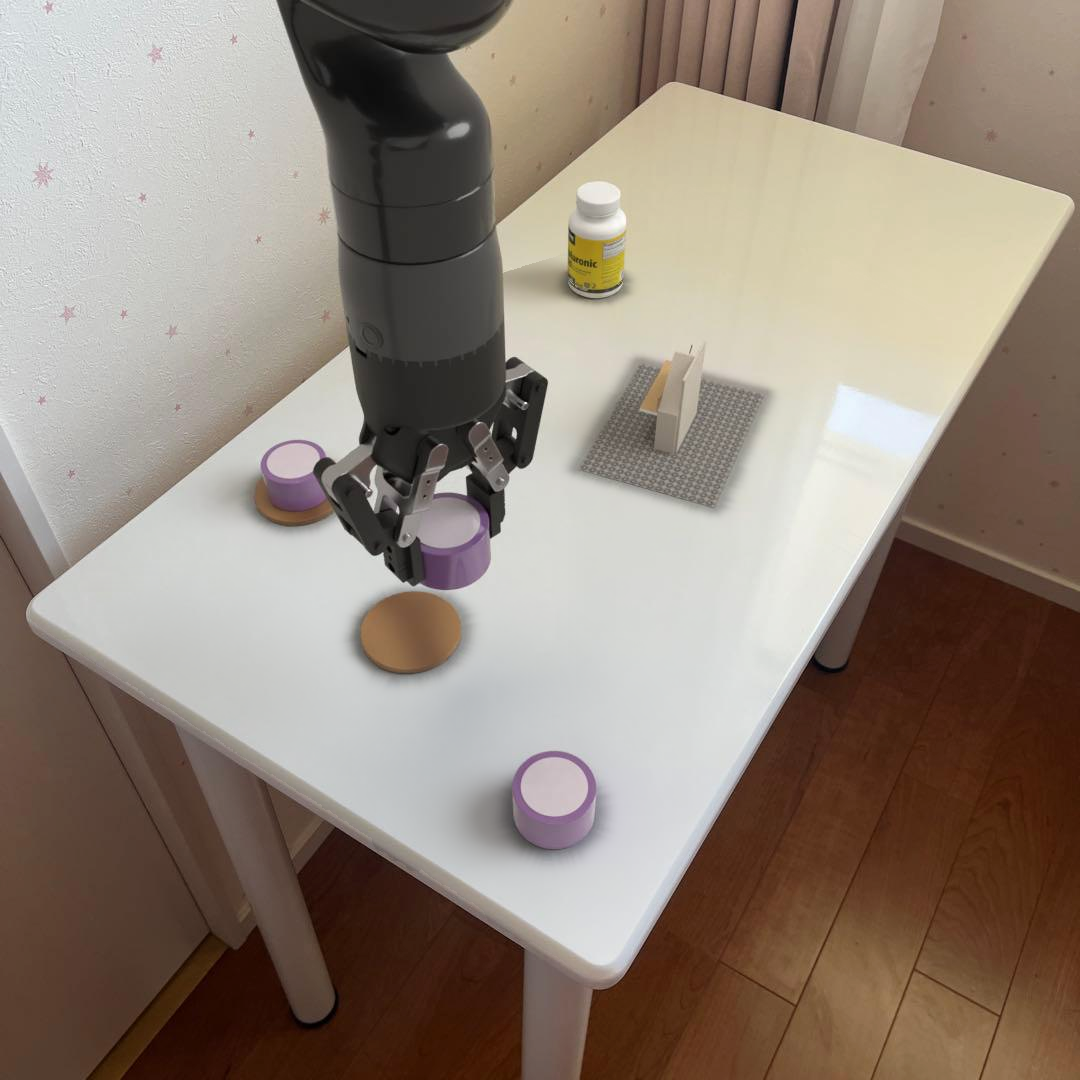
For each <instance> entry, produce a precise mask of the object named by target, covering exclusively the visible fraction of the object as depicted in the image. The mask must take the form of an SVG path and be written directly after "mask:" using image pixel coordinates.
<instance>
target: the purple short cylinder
mask: <svg viewBox="0 0 1080 1080" xmlns="http://www.w3.org/2000/svg"><path fill="white" fill-rule="evenodd" d="M325 457H327V454H326V452H325V450H324V449H323V448H322V447H321V446H320V445H319V444H317V443H315V442H313V441H310V440H308V439H307V440H306V439H289V440H285V441H282V442H279V443H277V444H275V445H273V446H271V448H269V449H268V450H267V451H266V452H265V453H264V454H263V456H262V458H261V460H260V465H259V466H260V471H261V476H262V477H263V480H264V484H265V488H266V492H267V496H268V498H269V500H270V502H271V503H272V504H273V505H275V506H276V507H278V508H280V509H282V510H286V511H304V510H308V509H311V508H313V507H316V506H317V505H319V504H321V503H322V502H323V501H324V500H325V499H326V498H327V497H326V495H325V494H324V492H323V490H322V488H321V487H320V485H319V483H318V481H317V479H316V478H315V476H314V474H313V469H314V466H315V464H316V463H317V462H318V461H319V460H320V459H322V458H325Z"/></svg>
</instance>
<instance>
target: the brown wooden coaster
mask: <svg viewBox="0 0 1080 1080" xmlns="http://www.w3.org/2000/svg"><path fill="white" fill-rule="evenodd" d="M461 623H462V622H461V618H460V616H459V614H458V611H456V609H455V607H454V606H453V605H452V604H451V603H450V602H449V601H447V600H446V599H444V598H443V597H442V596H439V595H436V594H435V593H431V592H425V591H419V590H416V591H415V590H411V591H403V592H399V593H395V594H392V595H390V596H387V597H385V598H383V599H381V600H380V601H378V602H377V603H376V604H374V605H373V606H372V607H371V608H370V610H369V611H368V612H367V613H366V615H365V616H364V618H363V620H362V623H361V626H360V632H359V635H360V636H359V638H360V642H361V647H362V649H363V651H364V653H365V655H366V657H367V658H368V659H369V660H370V661H371V662H372V663H373V664H374V665H376V666H378V667H379V668H381V669H383V670H385V671H388V672H391V673H396V674H407V675H409V674H419V673H423V672H427V671H430V670H432V669H434V668H436V667H438V666H440V665H441V664H443V663H445V662H446V661H447V660H448V659H449V658H450V657H451V656H452V655H453V653H455V651H456V650H457V648H458V646H459V643H460V640H461V637H462V624H461Z"/></svg>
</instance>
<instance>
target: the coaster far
mask: <svg viewBox="0 0 1080 1080" xmlns="http://www.w3.org/2000/svg"><path fill="white" fill-rule="evenodd" d="M253 492H254V493H253V497H254V498H253V499H254V504H255V507H256V509H257V511H258V512H259V514H260V515H262V517H263V518H265V519H266V520H268V521H270V522H271V523H274V524H278V525H280V526H281V525H282V526H287V527H299V526H306V525H311V524H313V523H316V522H319V521H321V520H324V519H326V518H327V517H329V516H330V515H332V514H333V513H335V511H334V510H333V508H332V506H331V504H330V503H329V501H328V499H327V498H326V499H325V500H324V501H323V502H322V503H321V504H319V505H317V506H316V507H313V508H311V509H308V510H304V511H286V510H282V509H280V508H278V507H276V506H275V505H273V504H272V503H271V502H270V500H269V498H268V496H267V492H266V488H265V484H264V480H263V476H262V477H261V478H260V479H259V480H258V482H257V484H256V486H255V488H254V491H253Z"/></svg>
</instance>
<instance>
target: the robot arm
mask: <svg viewBox="0 0 1080 1080" xmlns="http://www.w3.org/2000/svg"><path fill="white" fill-rule="evenodd" d="M275 1H276V5H277V8H278V11H279V14H280V18H281V20H282V23H283V25H284V29H285V32H286V35H287V37H288V40H289V44H290V46H291V49H292V53H293V56H294V59H295V62H296V64H297V67H298V71H299V73H300V76H301V79H302V81H303V84H304V87H305V90H306V91H307V94H308V96H309V99H310V101H311V103H312V106H313V108H314V110H315V113H316V116H317V119H318V122H319V125H320V128H321V131H322V135H323V139H324V144H325V153H326V162H327V163H326V166H327V173H328V180H329V188H330V194H331V200H332V207H333V213H334V221H335V227H336V234H337V271H338V272H337V274H338V282H339V290H340V295H341V303H342V308H343V315H344V322H345V328H346V334H347V341H348V346H349V347H348V348H349V352H350V359H351V366H352V372H353V378H354V385H355V386H354V387H355V391H356V395H357V398H358V401H359V404H360V407H361V411H362V414H363V421H362V426H361V429H360V432H359V436H358V446H357V447H356V448H355V449H353V450H352V451H350V452H349V453H348V454H346V455H345V456H344V457H343V458H341V459H340V460H339V461H337V462H336V461H335V460H334V459H332V458H331V457H329V456H326V457H325V458H322V459H320V460H319V461H318V462H317V463H316V464H315V466H314V469H313V474H314V476H315V478H316V479H317V481H318V483H319V485H320V487H321V488H322V490H323V492H324V494H325V495H326V497H327V499H328V501H329V503H330V504H331V506H332V508H333V510H334V513H335V515H336V517H337V518H338V521H339V522H340V524H341V526H342V527H343V529H344V531H346V532H347V533H348V535H350V536H352V537H353V538H354V539H355V540H356V541H358V542H359V544H361V545H362V547H364V549H365V551H366V552H368V553H369V555H371V556H372V557H377V556H380V555H381V554H382V555H383V562H384V566H385V567H386V568H387V570H389V571H390V572H391V573H392V574H393V575H394V576H395V577H396V578H397V579H398V580H399V581H400V582H401V583H403V584H405V583H408V584H409V585H410V586H411V587H416V586H418V585H420V583H421V582H422V581H424V579H425V577H424V569H423V560H422V552H421V543H420V539H419V538H418V537H417V536H416V535H417V531H418V527H419V523H420V519H421V515H422V512H424V511H428V510H429V509H430V507H431V503H432V499H433V495H434V494H435V492H436V487H437V484H438V483H439V482H440V481H442V479H444V478H445V477H446V476H447V475H449V474H450V473H452V472H454V471H458V470H460V469H463V468H465V467H466V469H467V470H468V471H469V472H471V473H470V474H468V475H466V476H465V486H466V496H469V497H471V498H473V499H475V500H476V501H478V502H479V503H480V504H481V505H482V506H483V507H484V508H485V510H486V512H487V514H488V517H489V528H490V540H492V539H493V538H494V537H496V536H498V535H499V534H500V533H501V532H502V527H501V526H502V525H501V523H503V522H504V521H505V520H504V519H505V516H506V496H505V495H506V493H505V491H506V490H505V488H506V487H507V486H508V484H509V482H510V474H511V473H512V472H513V471H514V470H515V469H516V468H517V469H518V470H523V469H526V468H527V467H528V466H529V465H530V464H531V463H532V461H533V460H534V455H535V450H536V446H537V440H538V435H539V431H540V426H541V420H542V415H543V412H544V411H543V410H544V405H545V402H546V401H545V400H546V395H547V390H548V386H549V381H548V378H547V377H545V376H544V375H542V374H541V373H540V372H538V371H537V370H535V369H534V368H532V367H531V366H529V365H528V364H527V363H526V362H524V361H523V360H522V359H520V358H518V357H517V356H512V357H510V358H508V359H506V330H505V327H506V326H505V297H504V291H505V290H504V269H503V258H502V252H501V247H500V242H499V237H498V231H497V219H496V194H495V191H496V190H495V167H494V165H495V164H494V143H493V142H494V141H493V133H492V125H491V120H490V117H489V114H488V111H487V108H486V106H485V105H484V102H483V101H482V99H481V97H480V95H479V94H478V93H477V91H476V90H475V89H474V88H473V86H472V85H471V84H470V83H469V82H468V80H467V79H466V78H465V77H464V76H463V75H462V74H461V72H460V71H459V70H458V69H457V68H456V67H455V65H454V63H453V62H452V60H451V59H450V56H449V53H453V52H455V51H456V52H457V51H459V50H462V49H465V48H468V47H469V46H472V45H473V44H475V43H476V42H478V41H480V40H481V39H482V38H484V37H485V36H487V35H488V34H489V33H490V32H492V31H493V30H494V28H496V27H497V26H498V25H499V23H501V21H502V20H503V18H504V17H505V16H506V15H507V13H509V10H510V8H512V5H513V3H514V1H515V0H275ZM514 429H515V433H516V437H514V436H513V431H514ZM375 467H376V469H375V475H374V479H373V480H374V485H375V488H376V490H377V494H376V499H375V504H374V508H372V506H371V503H370V501H369V500H368V499H370V498H371V497H372V496H373V494H374V490H373V489H371V482H372V481H371V473H372V471H373V469H374V468H375ZM397 511H398V512H397Z"/></svg>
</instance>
